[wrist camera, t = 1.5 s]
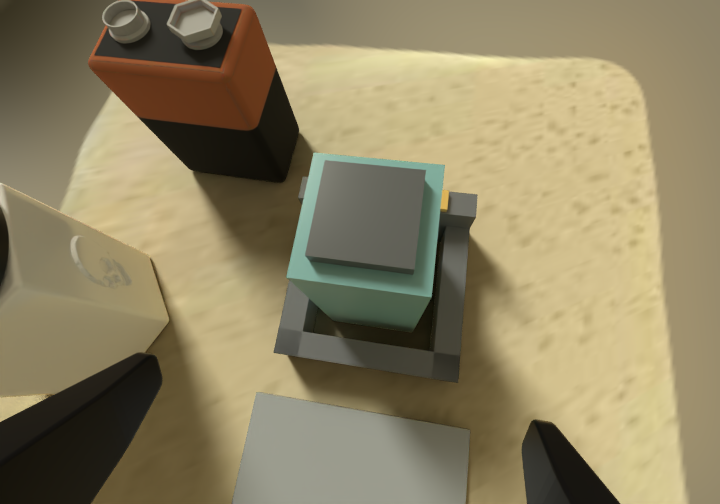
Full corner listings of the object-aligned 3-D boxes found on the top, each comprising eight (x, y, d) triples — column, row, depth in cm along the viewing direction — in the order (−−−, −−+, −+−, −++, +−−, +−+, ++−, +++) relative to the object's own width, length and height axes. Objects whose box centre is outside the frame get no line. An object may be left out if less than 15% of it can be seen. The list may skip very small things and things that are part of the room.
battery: (286, 186, 24) (217, 62, 14) (187, 172, 25) (61, 47, 15) (302, 128, 25) (248, -21, 16) (208, 117, 26) (102, -31, 16)
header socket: (449, 381, 19) (465, 383, 15) (287, 354, 20) (261, 350, 16) (462, 225, 22) (478, 191, 18) (317, 208, 23) (301, 173, 19)
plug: (412, 332, 20) (433, 292, 10) (333, 320, 21) (280, 272, 11) (420, 256, 22) (447, 154, 12) (346, 246, 22) (310, 142, 12)
